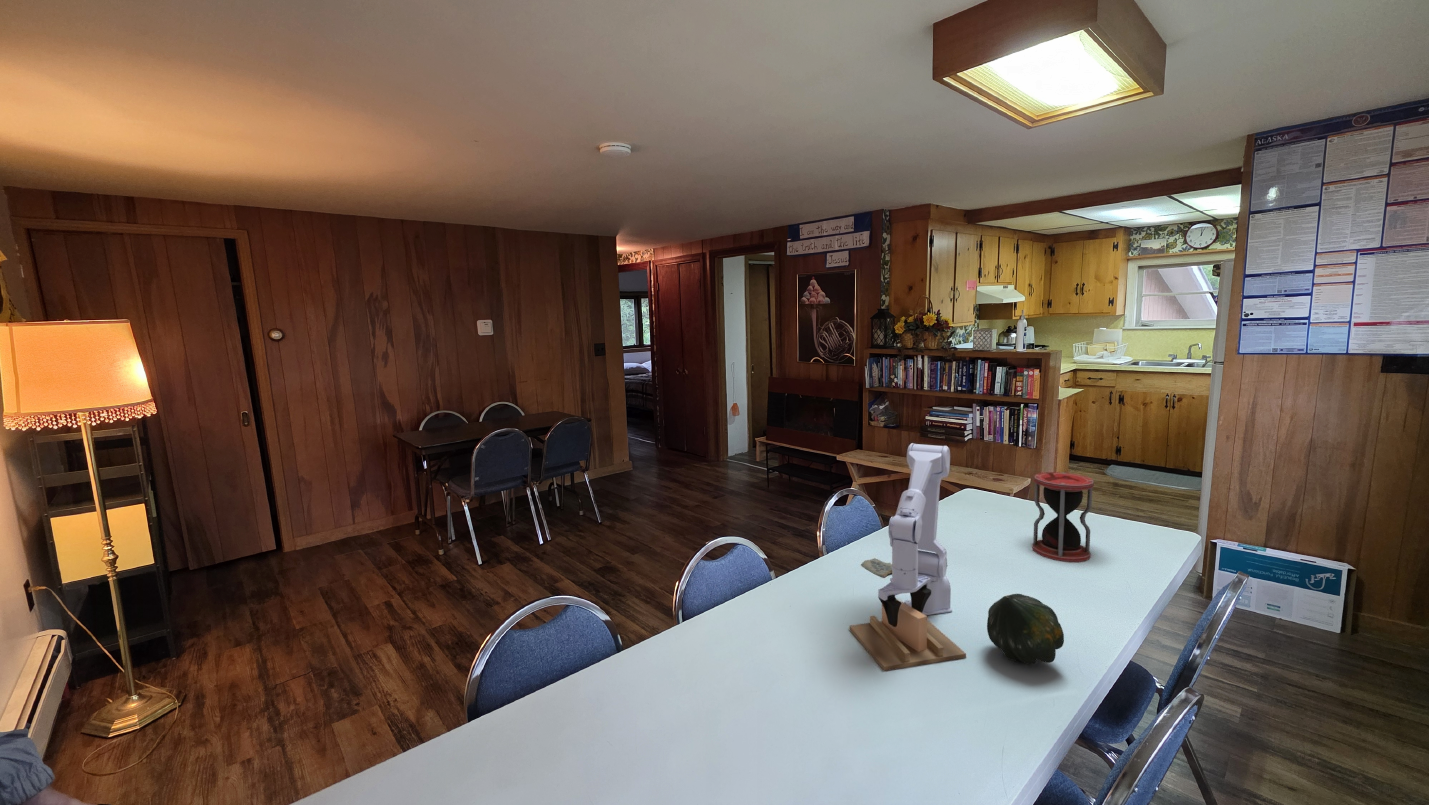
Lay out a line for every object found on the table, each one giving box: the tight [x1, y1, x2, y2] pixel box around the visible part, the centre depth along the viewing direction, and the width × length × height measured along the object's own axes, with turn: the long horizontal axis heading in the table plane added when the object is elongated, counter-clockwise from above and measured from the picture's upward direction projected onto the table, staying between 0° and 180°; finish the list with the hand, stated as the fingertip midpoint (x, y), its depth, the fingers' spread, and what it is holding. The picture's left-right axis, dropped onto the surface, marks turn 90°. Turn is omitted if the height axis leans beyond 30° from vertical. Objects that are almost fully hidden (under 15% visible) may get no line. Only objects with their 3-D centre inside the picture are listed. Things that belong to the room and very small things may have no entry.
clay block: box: [881, 598, 928, 652], centre depth 133 cm, size 2×12×8 cm, turn 26°
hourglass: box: [1031, 471, 1095, 564], centre depth 180 cm, size 16×16×25 cm
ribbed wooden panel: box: [848, 615, 967, 672], centre depth 133 cm, size 20×18×3 cm
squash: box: [986, 593, 1065, 665], centre depth 125 cm, size 14×15×15 cm
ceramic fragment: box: [860, 558, 892, 578], centre depth 174 cm, size 11×3×10 cm
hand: (904, 620), depth 133 cm, fingers open, 7 cm apart
